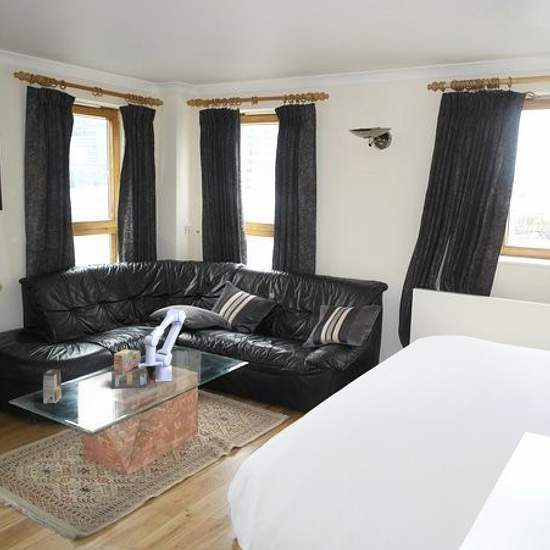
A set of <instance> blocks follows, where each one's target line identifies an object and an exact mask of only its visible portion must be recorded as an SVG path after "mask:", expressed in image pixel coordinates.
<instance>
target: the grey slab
mask: <svg viewBox="0 0 550 550" xmlns="http://www.w3.org/2000/svg"><path fill="white" fill-rule="evenodd" d="M139 388H140V389H141V388H145V389H146V388H148V379H147V378H146V384H144V385H140V378H138V379H132V385H127V379H120V374H117V373H112V374H111V390H117V389H139Z"/></svg>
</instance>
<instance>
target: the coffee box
mask: <svg viewBox="0 0 550 550" xmlns="http://www.w3.org/2000/svg"><path fill="white" fill-rule="evenodd" d="M61 375H62V372H61V369H54V368H53V369H51V368H50V369H48V370H47V371H45V372H44V373H43V374H42V387H43V388H42V389H43V393H42V394H43V396H42V397H43V404H47V403H55V404H56V403H57V402H59V399H60V398H61V399H62V376H61ZM61 399H60V400H61Z"/></svg>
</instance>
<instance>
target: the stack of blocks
mask: <svg viewBox="0 0 550 550" xmlns="http://www.w3.org/2000/svg"><path fill="white" fill-rule="evenodd" d="M141 353H142V352H141V351H140V350H133V349H126V348H125V349H122V350H120V351H118V352H116V353H114V354H113V374H115V373H116V374H118V375H123V374H127V372H129V370H130V371H131V370H133V369H135V368H137V367H138V364H141V361H142V356H141ZM136 366H137V367H136ZM134 367H135V368H134ZM132 368H133V369H132Z"/></svg>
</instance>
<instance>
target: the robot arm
mask: <svg viewBox="0 0 550 550" xmlns="http://www.w3.org/2000/svg"><path fill="white" fill-rule="evenodd" d="M185 319H186V312H185V310H182V309H175V308H172V307H171V308H169V309H168V311H167V312H166V316H165V318H164V319H163V320H162V322H161V323H160V325H158V326H155V327H154V329H153V330H152V331H151V332H150V333H149V334H148V335H146V336H145V337H144V339H143V344H144V347H145V362H142V363H141V364H138V366H137V368H139V369H140V368H145V370H146V373H147V374H148V375H147V376H148V379H150V380H151V379H153V376H154V373H155V378H154V380H155V382H156V383H157V382H159V383H161V382H172V379H173V374H172V373H173V372H172V371H173V370H172V364H171V362H172V358H173V354H172V350H173V347H174V345H175V343H176V341H177V338H178V336H179V334H180V331H181V329H182V327H183V324H184V323H185ZM170 324H171V328H170V330H169V332H168V335H167V336H166V339H165V340H164V344H163V346H162V348H160V349H158V350H157V347H156V346H157V345H158V344H159V340H160V338H161V337H162V336H163V334H164V333H165V329H166V328H167V327H168V326H169V325H170Z"/></svg>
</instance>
